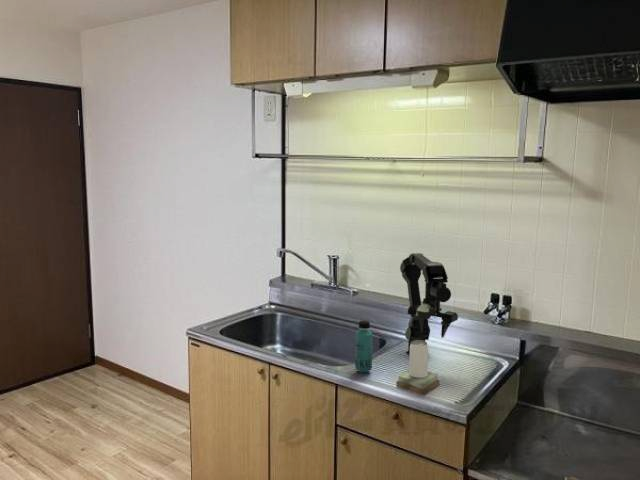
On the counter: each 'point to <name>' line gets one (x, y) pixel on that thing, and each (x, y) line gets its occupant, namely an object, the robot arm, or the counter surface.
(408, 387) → the tower base
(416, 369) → the can
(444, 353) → the counter surface
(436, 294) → the robot arm
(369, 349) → the beverage bottle
